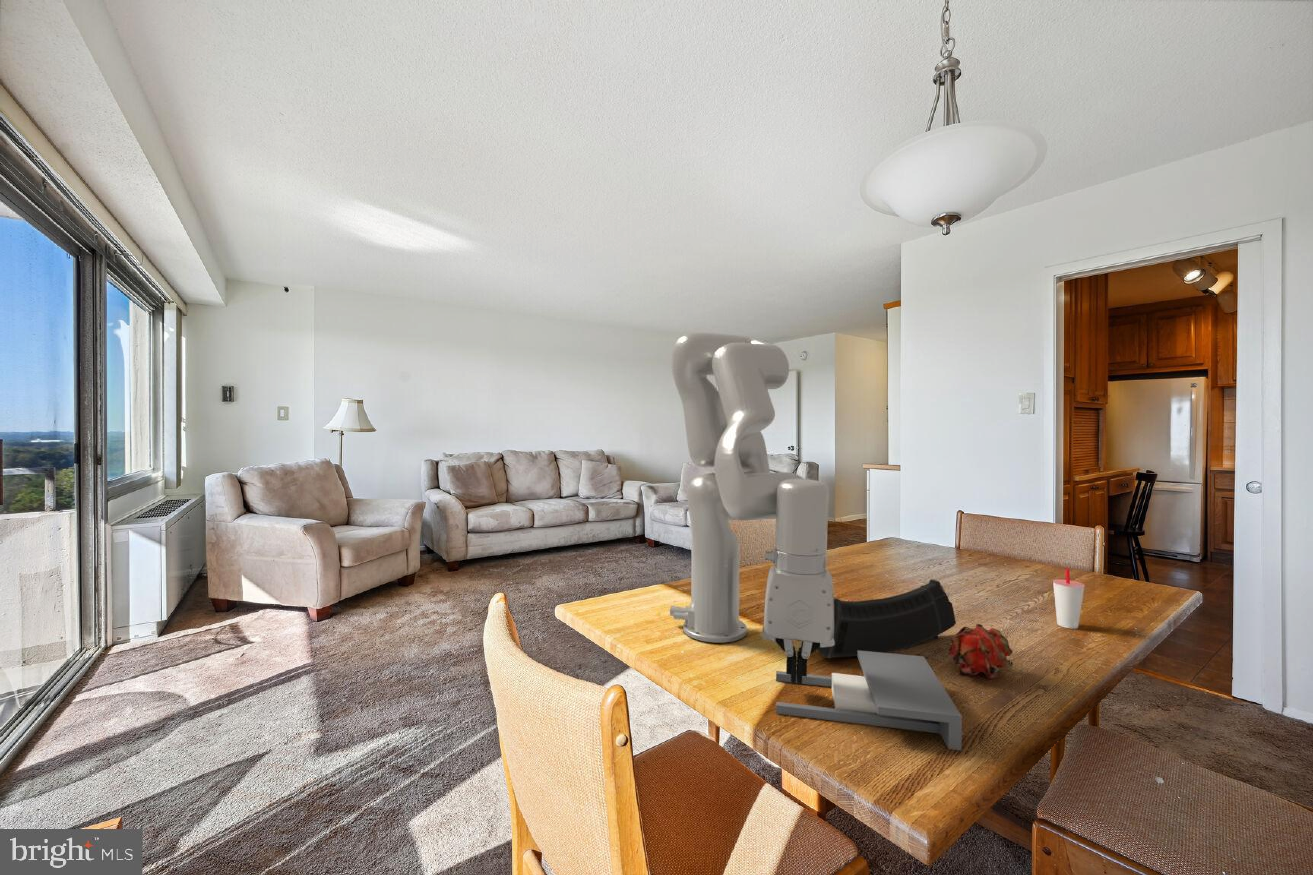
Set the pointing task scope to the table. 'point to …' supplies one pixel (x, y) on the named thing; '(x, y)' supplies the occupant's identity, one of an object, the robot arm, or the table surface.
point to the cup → (1068, 601)
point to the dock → (891, 697)
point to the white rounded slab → (852, 693)
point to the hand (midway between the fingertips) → (796, 678)
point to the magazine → (890, 621)
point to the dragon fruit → (980, 651)
